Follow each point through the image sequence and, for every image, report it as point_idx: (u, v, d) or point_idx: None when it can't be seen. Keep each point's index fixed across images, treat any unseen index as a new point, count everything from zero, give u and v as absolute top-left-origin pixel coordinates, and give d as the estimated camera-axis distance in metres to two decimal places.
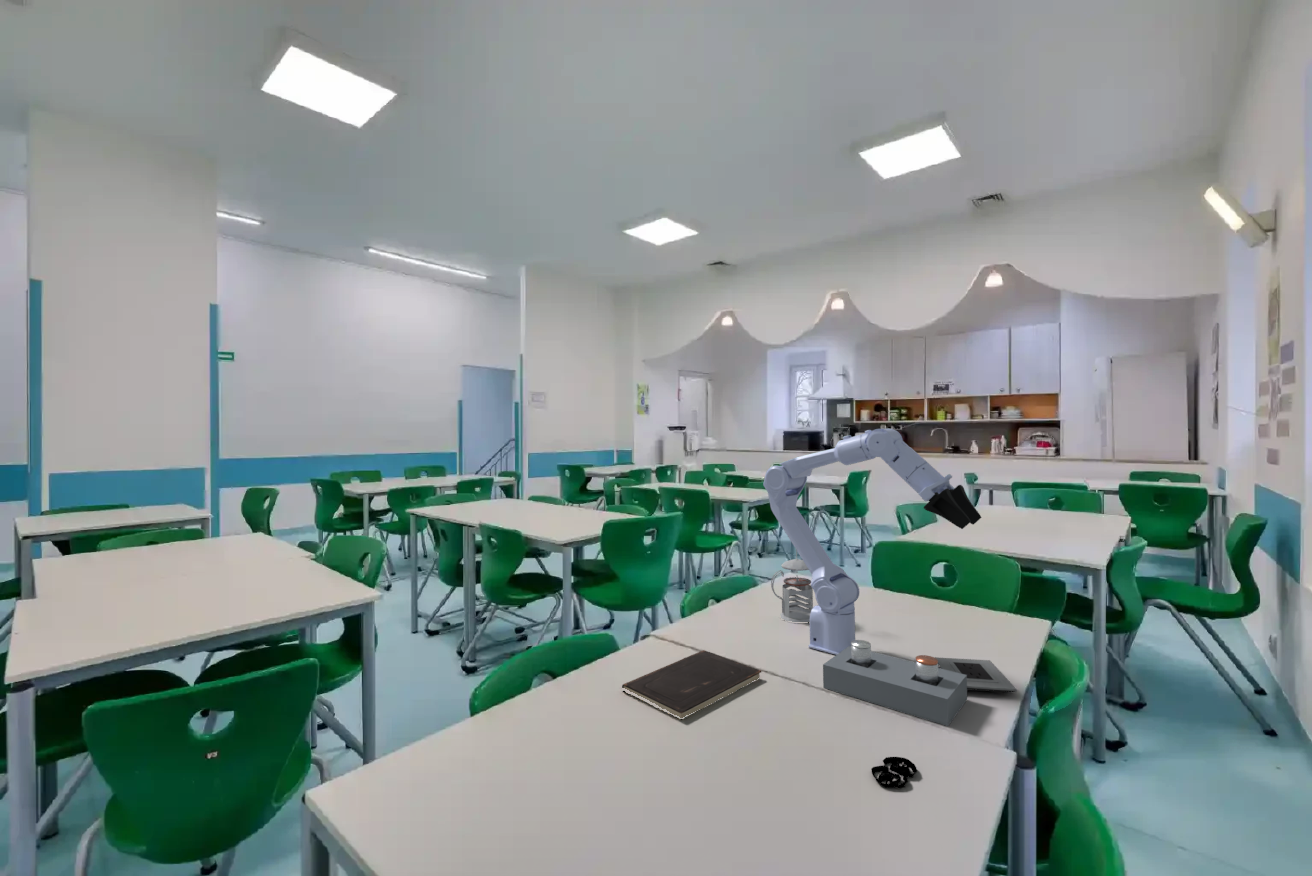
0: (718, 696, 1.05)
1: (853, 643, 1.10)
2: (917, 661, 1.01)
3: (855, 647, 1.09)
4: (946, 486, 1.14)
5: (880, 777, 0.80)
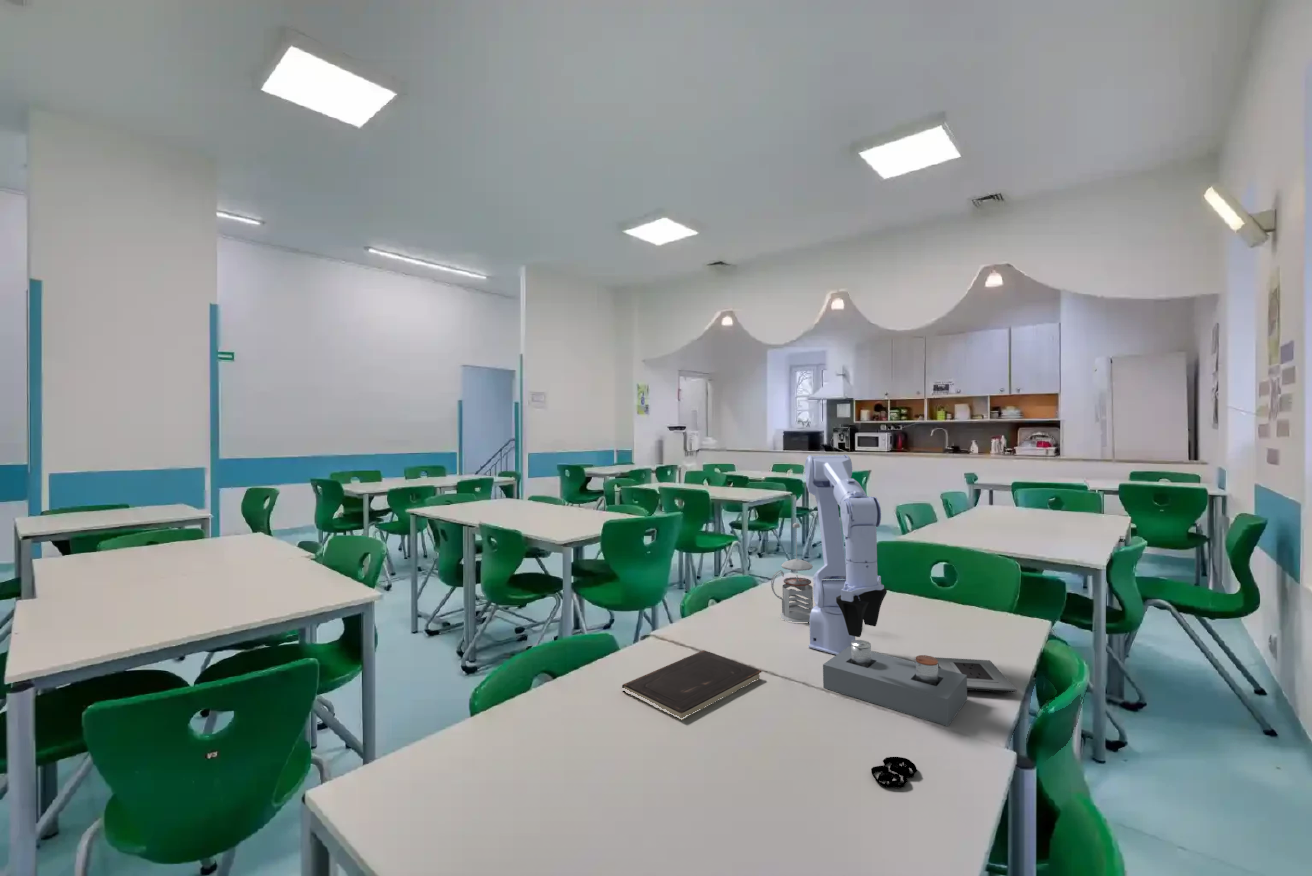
0: (718, 696, 1.05)
1: (853, 643, 1.10)
2: (917, 661, 1.01)
3: (855, 647, 1.09)
4: None
5: (880, 777, 0.80)
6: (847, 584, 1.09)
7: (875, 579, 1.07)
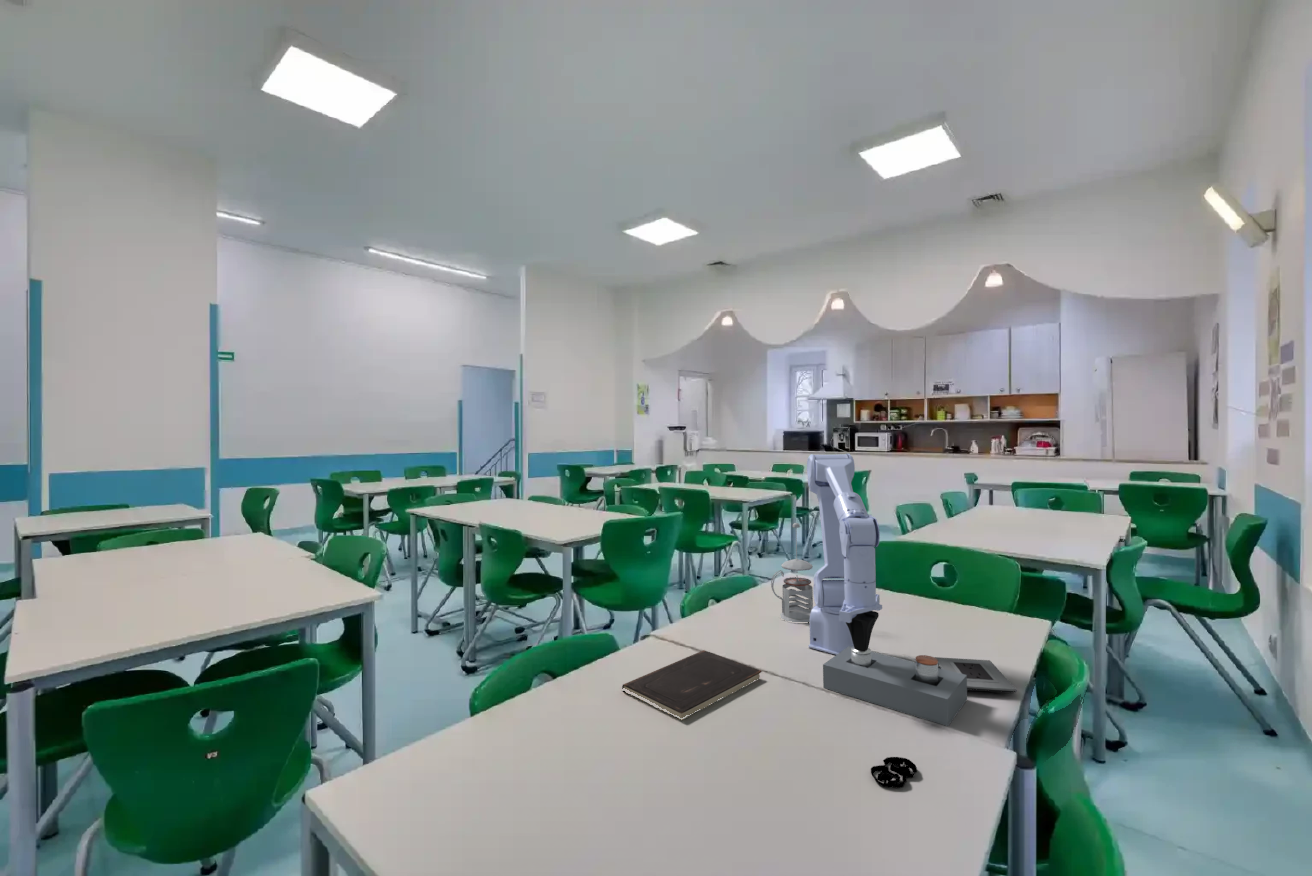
0: (718, 696, 1.05)
1: (853, 649, 1.10)
2: (917, 661, 1.01)
3: (855, 653, 1.09)
4: None
5: (879, 776, 0.80)
6: (845, 604, 1.09)
7: (873, 599, 1.07)
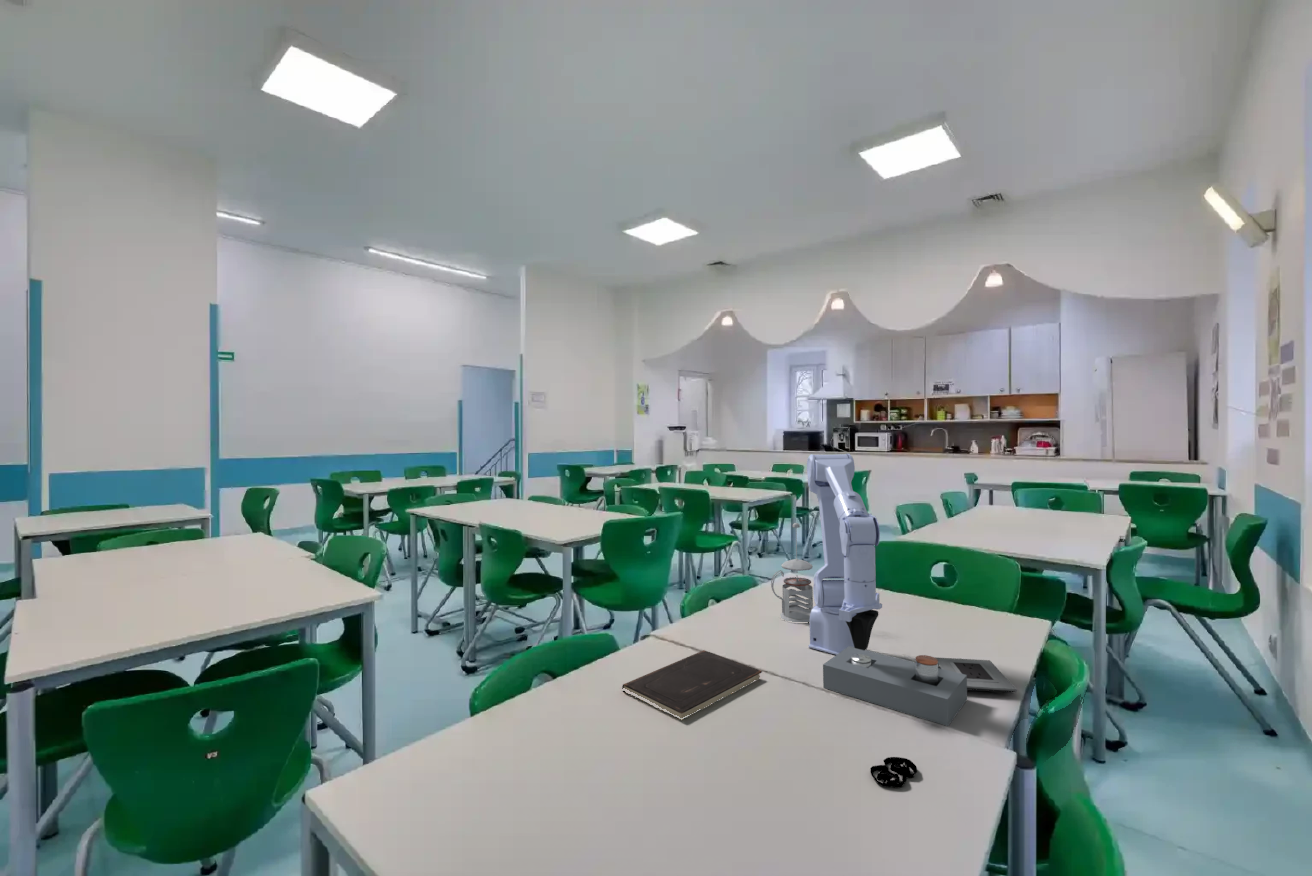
0: (718, 696, 1.05)
1: (853, 657, 1.10)
2: (917, 661, 1.01)
3: (855, 662, 1.09)
4: None
5: (878, 776, 0.80)
6: (845, 603, 1.09)
7: (873, 598, 1.07)
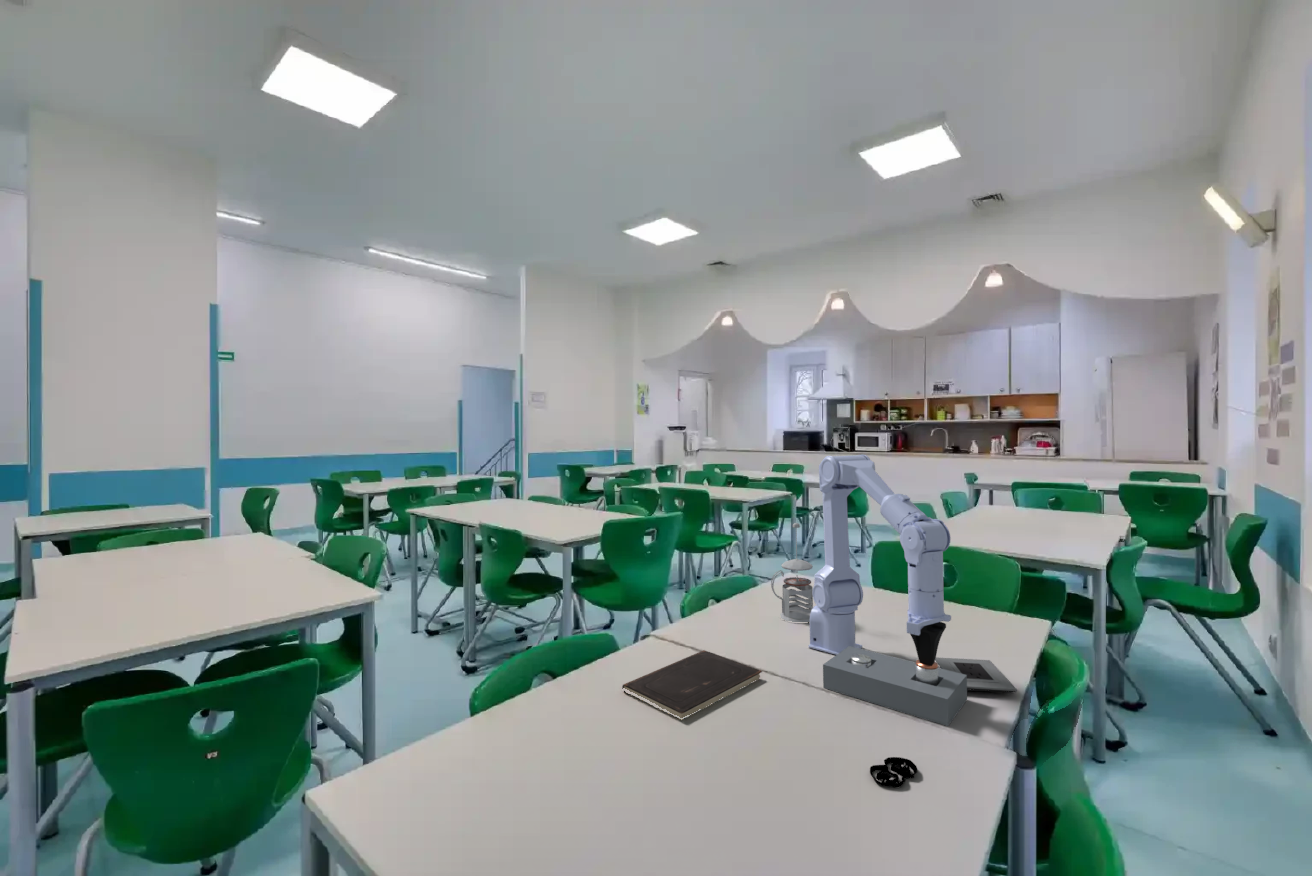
0: (718, 696, 1.04)
1: (853, 657, 1.10)
2: (917, 665, 1.01)
3: (855, 662, 1.09)
4: None
5: (877, 775, 0.80)
6: (911, 614, 1.01)
7: (942, 609, 0.99)
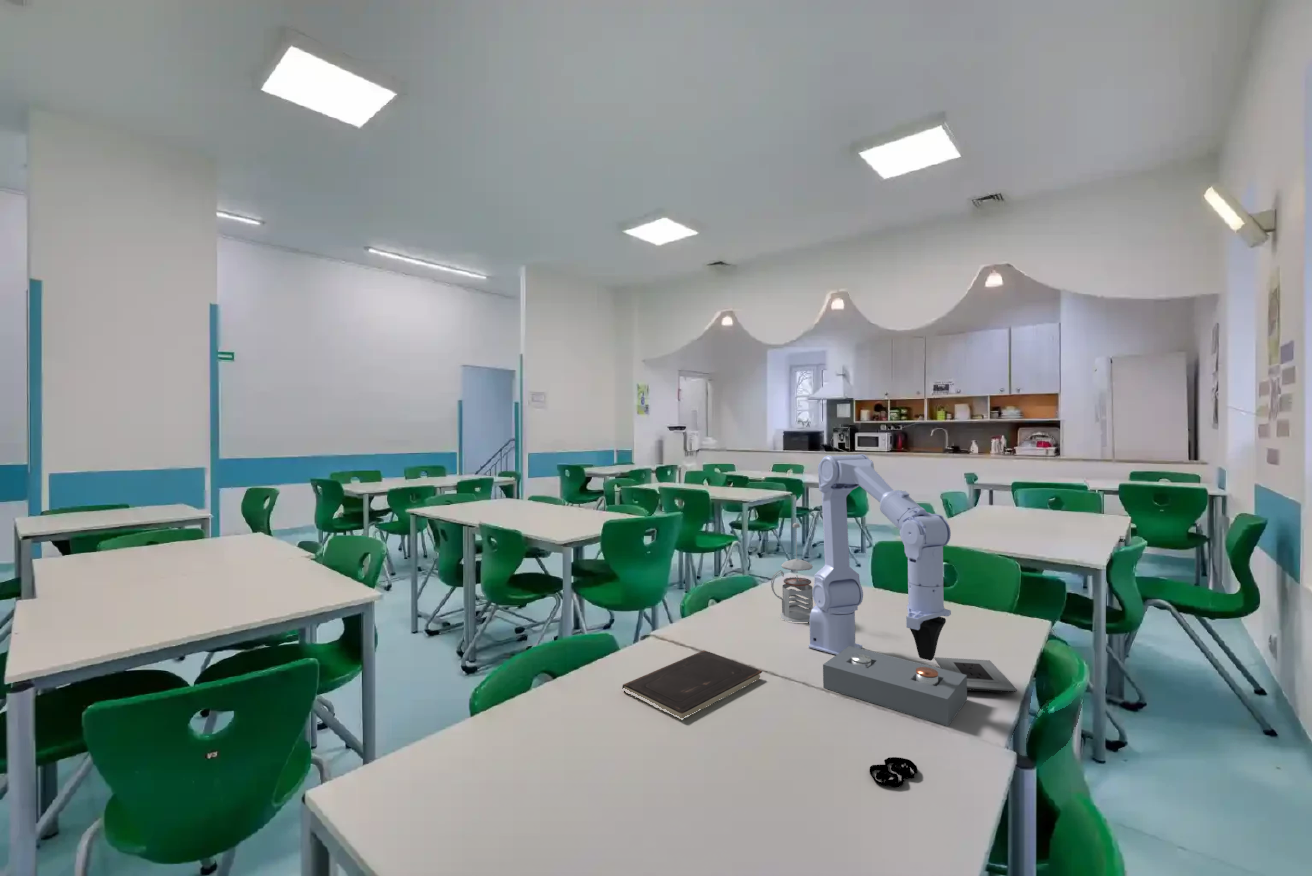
0: (718, 696, 1.04)
1: (853, 657, 1.10)
2: (917, 673, 1.01)
3: (855, 662, 1.09)
4: None
5: (877, 775, 0.80)
6: (910, 609, 1.01)
7: (942, 604, 0.99)
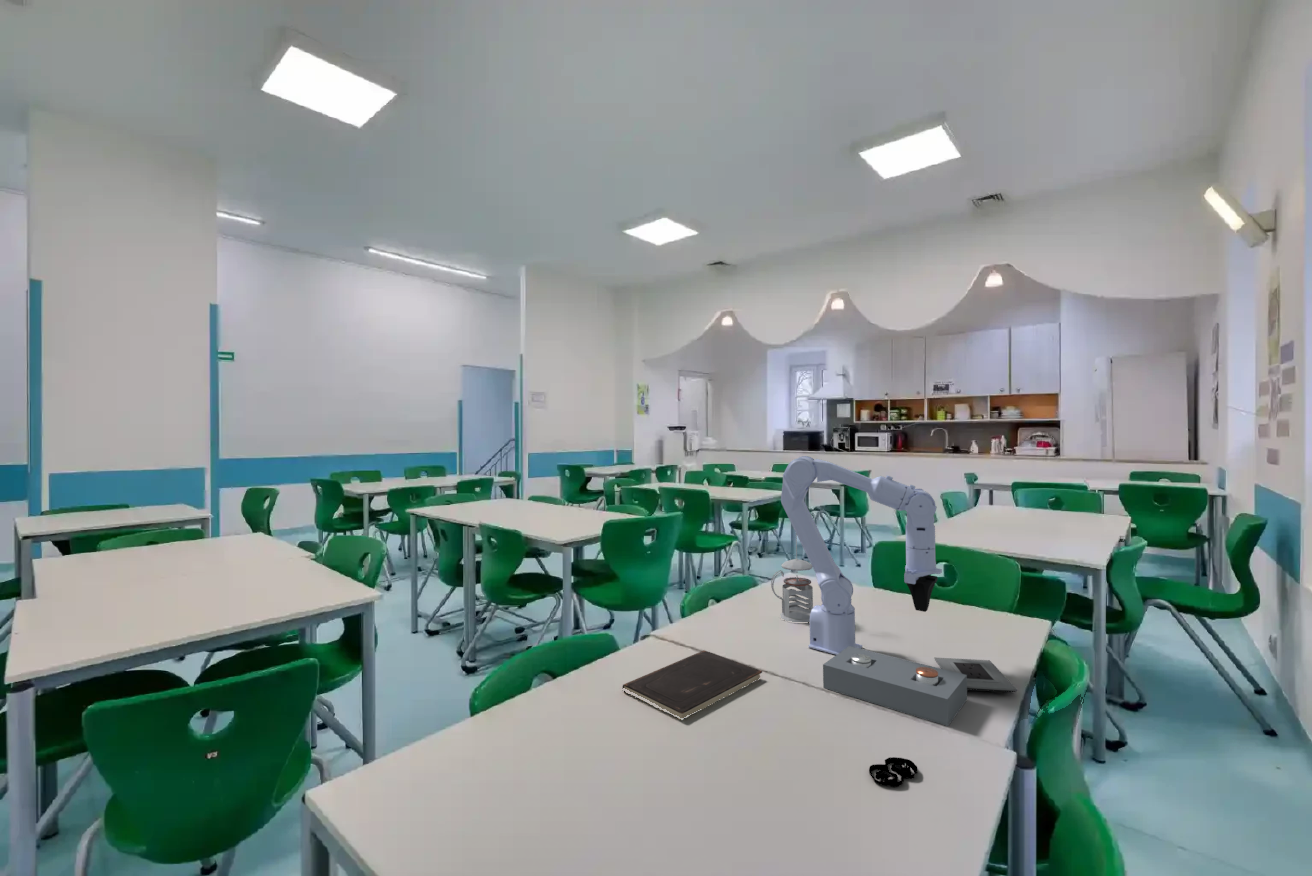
0: (719, 696, 1.04)
1: (853, 657, 1.10)
2: (917, 673, 1.01)
3: (855, 662, 1.09)
4: None
5: (876, 774, 0.81)
6: (908, 568, 1.20)
7: (934, 564, 1.19)
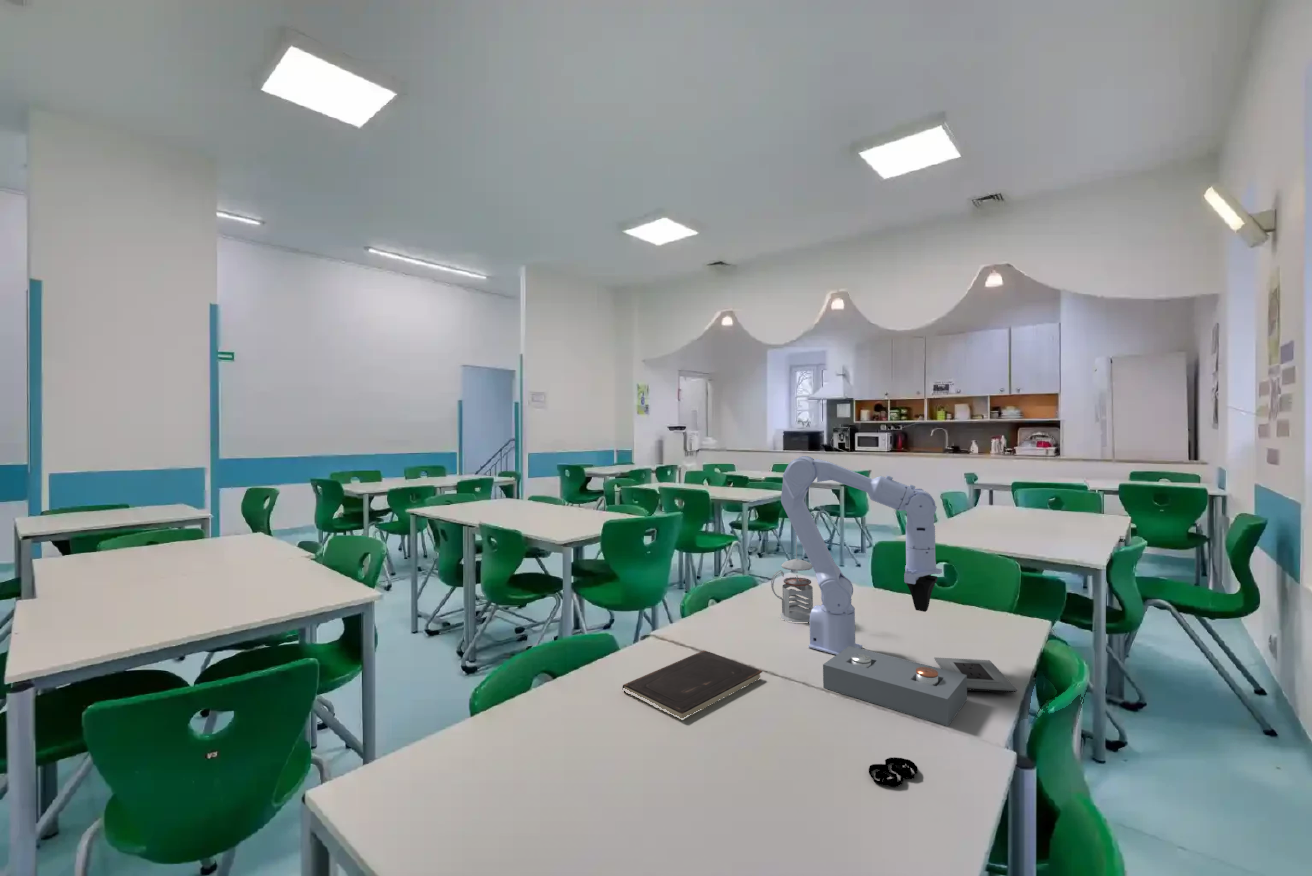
0: (719, 696, 1.04)
1: (853, 657, 1.10)
2: (917, 673, 1.01)
3: (855, 662, 1.09)
4: None
5: (876, 774, 0.81)
6: (908, 568, 1.20)
7: (934, 564, 1.19)
